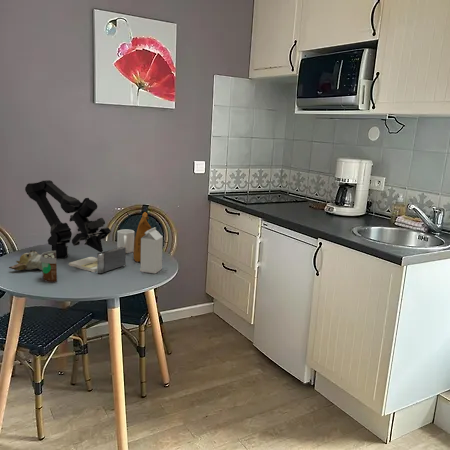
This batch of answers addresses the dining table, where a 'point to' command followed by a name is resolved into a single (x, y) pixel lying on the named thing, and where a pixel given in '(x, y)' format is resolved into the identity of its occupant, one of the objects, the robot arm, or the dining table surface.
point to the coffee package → (140, 236)
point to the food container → (49, 266)
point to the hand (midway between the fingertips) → (101, 251)
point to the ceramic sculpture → (28, 261)
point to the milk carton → (151, 251)
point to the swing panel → (111, 259)
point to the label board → (85, 264)
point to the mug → (125, 239)
